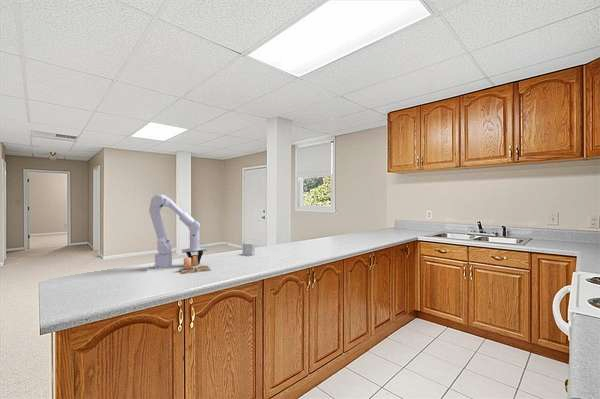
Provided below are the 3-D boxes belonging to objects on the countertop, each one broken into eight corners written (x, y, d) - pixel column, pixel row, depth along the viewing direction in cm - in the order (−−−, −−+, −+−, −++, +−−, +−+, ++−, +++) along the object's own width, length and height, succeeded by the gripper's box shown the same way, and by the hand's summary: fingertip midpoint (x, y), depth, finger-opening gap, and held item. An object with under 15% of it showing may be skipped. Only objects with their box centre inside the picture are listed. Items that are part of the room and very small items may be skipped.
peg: (184, 271, 157) (183, 259, 157) (183, 270, 161) (183, 257, 161) (191, 271, 159) (191, 258, 159) (191, 269, 163) (190, 257, 162)
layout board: (180, 276, 153) (180, 272, 153) (179, 270, 163) (179, 267, 163) (211, 272, 160) (211, 268, 160) (208, 267, 171) (208, 264, 171)
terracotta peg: (191, 268, 169) (191, 256, 169) (190, 266, 173) (190, 255, 173) (198, 267, 171) (198, 255, 171) (197, 265, 175) (197, 254, 174)
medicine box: (254, 254, 207) (254, 242, 207) (252, 256, 203) (251, 244, 203) (245, 254, 210) (245, 242, 210) (242, 255, 205) (242, 243, 205)
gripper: (182, 243, 165) (182, 266, 165) (208, 241, 171) (208, 263, 172) (181, 241, 171) (181, 264, 171) (206, 239, 178) (206, 261, 178)
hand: (194, 263), depth 172 cm, fingers closed on terracotta peg, 4 cm apart
